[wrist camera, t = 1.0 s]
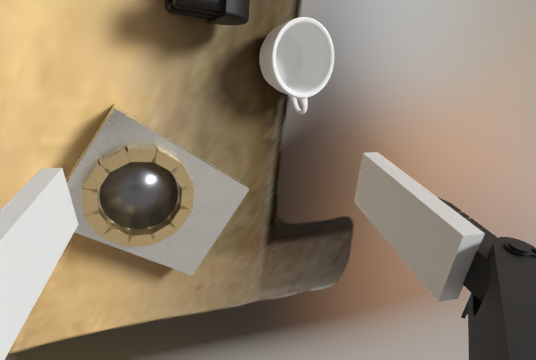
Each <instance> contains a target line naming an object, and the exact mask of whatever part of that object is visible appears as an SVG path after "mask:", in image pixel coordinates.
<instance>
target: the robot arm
mask: <svg viewBox="0 0 536 360" xmlns="http://www.w3.org/2000/svg"><path fill="white" fill-rule="evenodd" d="M354 203H355V204H356V205H357V206H358V207H359V208H360V210H361V211H362V212H363V213H364V214H365V216H366V217H367V218H368V219H369V220H370V221H371V223H372V224H373V225H374V226H375V227H376V229H377V230H378V231H379V232H380V233H381V234H382V235H383V237H384V238H385V239H386V240H387V242H388V243H389V244H390V245H391V246H392V247H393V248H394V250H395V251H396V252H397V253H398V254H399V256H400V257H401V258H402V259H403V260H404V261H405V263H406V264H407V265H408V266H409V267H410V268H411V270H412V271H413V272H414V273H415V275H416V276H417V277H418V278H419V279H420V280H421V281H422V283H423V284H424V285H425V286H426V287H427V289H428V290H429V291H430V292H431V293H432V295H433V296H434V297H435V298H436V299H437V300H438V301H445V300H451V299H458V297H459V294H460V292H461V290H462V287H463V285H464V286H466V288H467V289H468V290H469V291H470V292H471V295H470V297H469V300H468V302H467V304H466V307H465V309H464V311H463V313H462V316H461V317H462V318H465V317H466V315H467V314H468V328H469V360H536V248H535V247H534V246H532V245H530V244H527V243H526V242H524V241H520V240H518V239H514V238H509V237H499V238H497V237H496V236H495V235H493V234H492V233H491V232H489V231H488V230H486V229H485V228H483V227H482V226H481V225H480V224H478V223H477V222H476V221H474V220H473V219H472V218H471V219H470V218H469V216H468V215H466V214H465V213H462V212H461V210H459V209H458V208H457V207H455V206H454V205H453V204H451V203H449V202H447V201H445V200H443V199H440V198H437V197H436V196H435V195H433V194H432V193H431V192H429V191H428V190H427V189H425V188H424V187H423V186H421V185H420V184H419V183H418V182H416V181H415V180H414V179H412V178H411V177H410V176H408V175H407V174H405V173H404V172H403V171H402V170H400V169H399V168H398V167H396V166H395V165H394V164H392V163H391V162H390V161H388V160H387V159H386V158H384V157H383V156H382V155H380V154H379V153H378V152H373V153H363V155H362V162H361V167H360V172H359V178H358V183H357V189H356V195H355V201H354ZM77 226H78V221H77V218H76V214H75V211H74V207H73V203H72V200H71V196H70V193H69V189H68V186H67V182H66V179H65V175H64V172H63V168H47V169H40V171H39V172H38V173H37V174H36V175H35V176H34V177H33V178H32V179H31V180H30V181H29V182H28V183H27V184H26V185H25V186H24V187H23V188H22V189H21V190H20V191H19V192H18V193H17V194H16V195H15V196H14V197H13V198H12V199H11V200H10V201H9V202H8V203H7V204H6V205H5V206H4V207H3V208H2V209H1V210H0V360H4V359H5V357H6V356H7V354H8V352H9V350H10V348H11V347H12V345H13V343H14V341H15V339H16V337H17V336H18V334H19V332H20V330H21V328H22V326H23V325H24V323H25V321H26V319H27V317H28V316H29V314H30V312H31V310H32V308H33V306H34V305H35V303H36V301H37V299H38V297H39V295H40V294H41V292H42V290H43V288H44V286H45V284H46V283H47V281H48V279H49V277H50V275H51V274H52V272H53V270H54V268H55V266H56V264H57V263H58V261H59V259H60V257H61V255H62V253H63V252H64V250H65V248H66V246H67V244H68V243H69V241H70V239H71V237H72V235H73V233H74V232H75V230H76V228H77Z"/></svg>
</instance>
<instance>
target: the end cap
mask: <svg viewBox="0 0 536 360" xmlns="http://www.w3.org/2000/svg"><path fill="white" fill-rule="evenodd" d="M249 1H250V0H165V7H166V10H167V11H168V12H169V13H172V14H178V15H185V16H191V17H197V18H204V19H207V23H211V24H221V25H241V24H245V23H247V22H248V19H249Z"/></svg>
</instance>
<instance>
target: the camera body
mask: <svg viewBox="0 0 536 360" xmlns="http://www.w3.org/2000/svg"><path fill="white" fill-rule="evenodd" d="M66 182H67V186H68V189H69V193H70V196H71V200H72V203H73V207H74V211H75V214H76V218H77V221H78V226H77V228H76V230H75V232H74V233H77V234H80V235H82V236H85V237H88V238H91V239H93V240H96V241H99V242H101V243H104V244H107V245H110V246H112V247H115V248H118V249H121V250H123V251H126V252H129V253H132V254H134V255H137V256H140V257H143V258H145V259H148V260H151V261H154V262H156V263H159V264H162V265H165V266H167V267H170V268H173V269H175V270H178V271H181V272H184V273H186V274H189V275H192V276H193V274H194V272H195V271H196V269H197V268H198V266H199V265H200V263H201V262H202V260H203V259H204V257H205V256H206V254H207V253H208V251H209V250H210V248H211V247H212V245H213V244H214V242H215V241H216V239H217V238H218V236H219V235H220V233H221V232H222V230H223V229H224V227H225V226H226V224H227V222H228V221H229V219H230V218H231V216H232V215H233V213H234V212H235V210H236V209H237V207H238V206H239V204H240V203H241V201H242V200H243V198H244V197H245V195H246V194H247V192H248V191H249V188H248V187H247V186H245V185H244V184H243V183H242V182H241V181H240V180H239V179H237V178H236V177H234V176H232V175H231V174H229V173H227V172H226V171H224V170H222V169H221V168H219V167H217V166H216V165H214V164H212V163H211V162H209V161H208V160H206V159H204V158H203V157H201V156H199V155H198V154H196V153H194V152H193V151H191V150H189V149H188V148H186V147H184V146H183V145H181V144H179V143H178V142H176V141H174V140H173V139H171V138H169V137H168V136H166V135H164V134H163V133H161V132H160V131H158V130H156V129H155V128H153V127H151V126H150V125H148V124H146V123H145V122H143V121H141V120H140V119H138V118H136V117H135V116H133V115H131V114H130V113H128V112H126V111H125V110H123V109H121V108H120V107H118V106H116V105H115V104H114V105H113V106H112V108H111V110H110V111H109V113H108V114H107V116H106V117H105V119H104V120H103V122H102V123H101V125H100V127H99V128H98V130H97V131H96V133H95V134H94V136H93V137H92V139H91V141H90V142H89V144H88V145H87V147H86V148H85V150H84V151H83V153H82V154H81V156H80V158H79V159H78V161H77V162H76V164H75V165H74V167H73V168H72V170H71V172H70V173H69V175H68V176H67V178H66Z"/></svg>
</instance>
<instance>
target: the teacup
mask: <svg viewBox="0 0 536 360" xmlns="http://www.w3.org/2000/svg"><path fill="white" fill-rule="evenodd" d="M259 63H260V68H261V72H262V74H263V77H264V78H265V80H266V81H267V82H268V83H269V84H270V85H271V86H272V87H274V88H275V89H276V90H278V91H280V92H282V93H284V94H287V95H289V97H290V99H291V101H292V103H293V106H294V109H295V110H296V112H297V113H299V114H304V113H305V112H306V111H307V106H308V105H307V97H310V96H313V95H315V94H316V93H318V92H319V91H320V90H321V89H322V88H323V87H324V86H325V85H326V83H327V82H328V80H329V78H330V76H331V73H332V70H333V66H334V48H333V43H332V40H331V38H330V35H329V33H328V32H327V30H326V29H325V27H324V26H323V25H322V24H321V23H319V22H318V21H316V20H314V19H312V18H308V17H300V18H296V19H293V20H291V21H288V22H286V23H283V24H281V25H279V26H277V27H276V28H274V29H273V30H272V31H271V32H270V33H269V34H268V35H267V37H266V38H265V40H264V42H263V44H262V46H261V49H260V55H259ZM297 99H298V100H299V101H300V102H301V104H302V110H301V109H300V108H299V106H298V103H297Z"/></svg>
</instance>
